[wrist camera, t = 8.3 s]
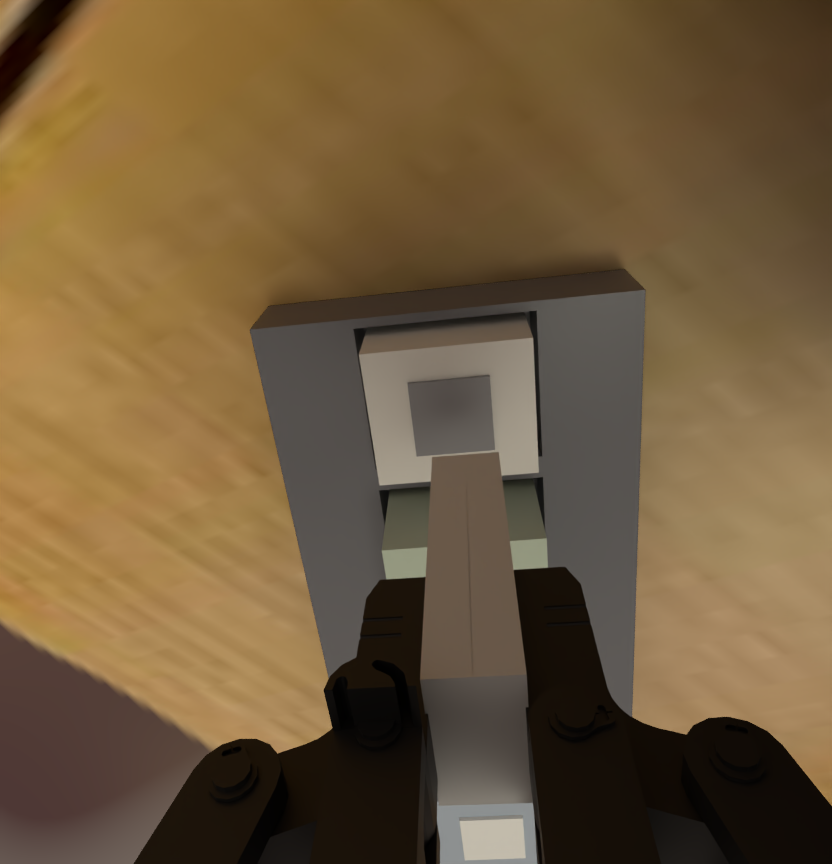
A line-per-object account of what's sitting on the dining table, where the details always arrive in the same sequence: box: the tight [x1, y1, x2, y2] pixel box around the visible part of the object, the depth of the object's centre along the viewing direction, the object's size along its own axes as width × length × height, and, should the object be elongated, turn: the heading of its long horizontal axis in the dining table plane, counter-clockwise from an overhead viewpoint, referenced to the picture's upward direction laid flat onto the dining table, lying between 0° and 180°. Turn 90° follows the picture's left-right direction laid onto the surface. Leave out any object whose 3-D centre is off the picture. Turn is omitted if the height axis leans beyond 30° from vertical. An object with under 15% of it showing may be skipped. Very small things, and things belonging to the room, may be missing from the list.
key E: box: [359, 312, 539, 485], centre depth 22 cm, size 4×5×4 cm
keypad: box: [250, 269, 645, 717], centre depth 27 cm, size 23×12×3 cm, turn 6°
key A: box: [382, 478, 548, 579], centre depth 24 cm, size 4×5×4 cm
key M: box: [437, 796, 537, 864], centre depth 29 cm, size 4×5×4 cm
